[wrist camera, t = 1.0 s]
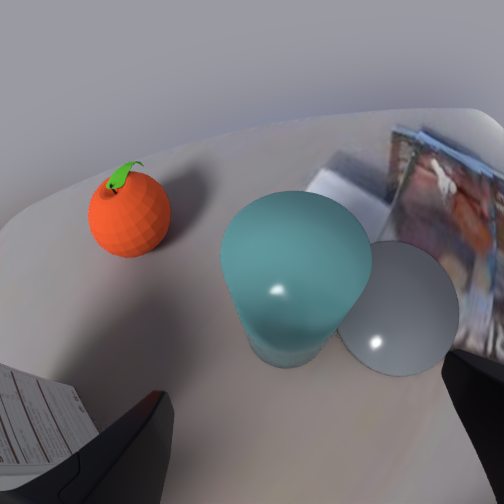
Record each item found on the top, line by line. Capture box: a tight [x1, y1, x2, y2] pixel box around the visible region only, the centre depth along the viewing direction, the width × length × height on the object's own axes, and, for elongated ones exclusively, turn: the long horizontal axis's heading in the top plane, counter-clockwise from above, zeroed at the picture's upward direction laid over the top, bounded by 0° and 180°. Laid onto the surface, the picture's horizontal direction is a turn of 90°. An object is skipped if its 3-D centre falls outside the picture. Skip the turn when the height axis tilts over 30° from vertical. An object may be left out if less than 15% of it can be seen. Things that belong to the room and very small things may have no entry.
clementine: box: [88, 161, 171, 258], centre depth 22 cm, size 8×7×7 cm
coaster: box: [337, 241, 459, 377], centre depth 20 cm, size 11×11×1 cm
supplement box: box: [0, 363, 99, 491], centre depth 10 cm, size 7×7×13 cm
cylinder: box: [220, 191, 372, 368], centre depth 15 cm, size 6×6×11 cm
